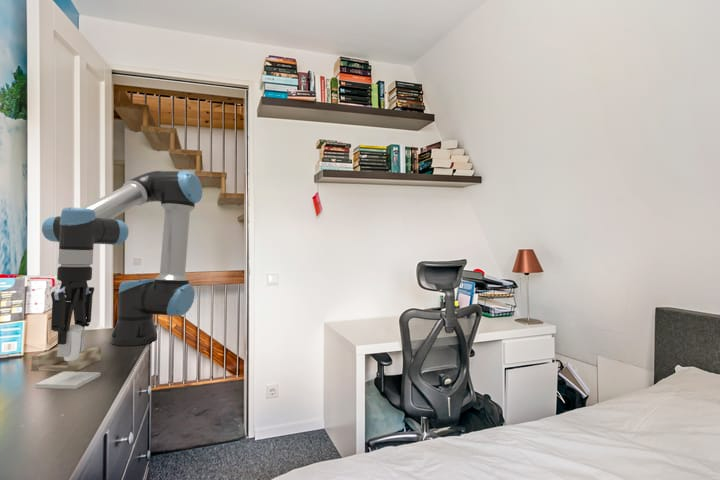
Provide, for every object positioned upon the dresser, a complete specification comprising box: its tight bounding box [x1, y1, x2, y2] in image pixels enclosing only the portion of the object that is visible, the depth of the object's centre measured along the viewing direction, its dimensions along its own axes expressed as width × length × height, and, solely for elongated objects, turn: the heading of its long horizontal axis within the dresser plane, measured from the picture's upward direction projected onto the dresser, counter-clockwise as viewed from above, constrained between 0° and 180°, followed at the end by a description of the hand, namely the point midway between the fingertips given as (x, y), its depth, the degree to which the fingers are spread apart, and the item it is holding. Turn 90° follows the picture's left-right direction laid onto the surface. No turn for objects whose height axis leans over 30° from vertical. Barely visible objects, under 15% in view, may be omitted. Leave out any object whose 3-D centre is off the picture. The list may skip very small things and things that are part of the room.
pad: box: [34, 371, 102, 390], centre depth 105 cm, size 10×10×1 cm
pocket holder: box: [30, 346, 102, 372], centre depth 118 cm, size 12×12×4 cm
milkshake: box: [64, 323, 83, 362], centre depth 105 cm, size 5×5×10 cm
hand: (70, 353), depth 105 cm, fingers closed on milkshake, 4 cm apart
